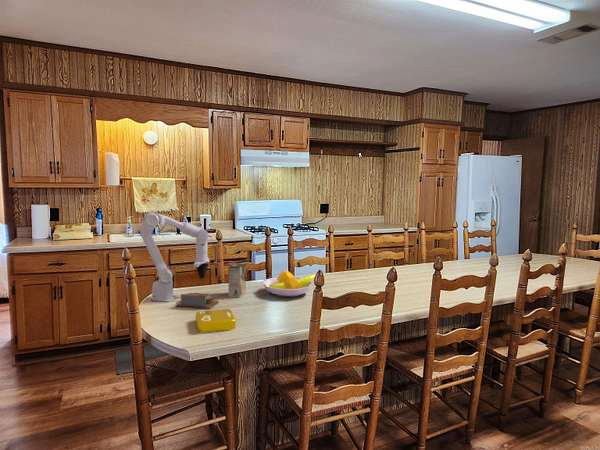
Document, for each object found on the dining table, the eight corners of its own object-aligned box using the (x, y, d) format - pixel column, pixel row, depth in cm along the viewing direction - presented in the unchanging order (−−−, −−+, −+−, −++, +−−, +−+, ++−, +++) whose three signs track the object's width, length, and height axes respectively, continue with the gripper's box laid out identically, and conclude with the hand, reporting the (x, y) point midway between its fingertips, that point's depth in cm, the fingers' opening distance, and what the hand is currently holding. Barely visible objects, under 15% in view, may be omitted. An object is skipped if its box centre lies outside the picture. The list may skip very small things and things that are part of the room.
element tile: (236, 330, 162) (236, 319, 162) (198, 334, 157) (198, 322, 157) (230, 317, 176) (230, 307, 176) (195, 321, 171) (195, 310, 171)
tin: (217, 295, 196) (208, 298, 188) (216, 301, 196) (208, 305, 188) (189, 292, 200) (180, 295, 191) (189, 298, 200) (180, 301, 192)
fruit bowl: (255, 297, 205) (256, 276, 203) (273, 284, 231) (273, 265, 229) (308, 303, 197) (309, 281, 196) (320, 289, 223) (321, 269, 222)
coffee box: (234, 292, 214) (234, 262, 212) (245, 293, 212) (246, 263, 211) (228, 297, 205) (228, 266, 203) (239, 298, 204) (240, 267, 202)
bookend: (181, 307, 188) (181, 294, 187) (182, 306, 189) (182, 293, 188) (205, 309, 185) (205, 296, 185) (206, 308, 187) (206, 295, 186)
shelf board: (176, 306, 188) (176, 304, 188) (185, 300, 198) (185, 298, 198) (210, 309, 185) (210, 307, 185) (218, 302, 195) (218, 301, 195)
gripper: (203, 255, 195) (203, 282, 197) (214, 250, 209) (214, 275, 211) (189, 254, 196) (190, 281, 198) (202, 249, 211) (202, 274, 212)
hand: (201, 278), depth 205 cm, fingers closed
